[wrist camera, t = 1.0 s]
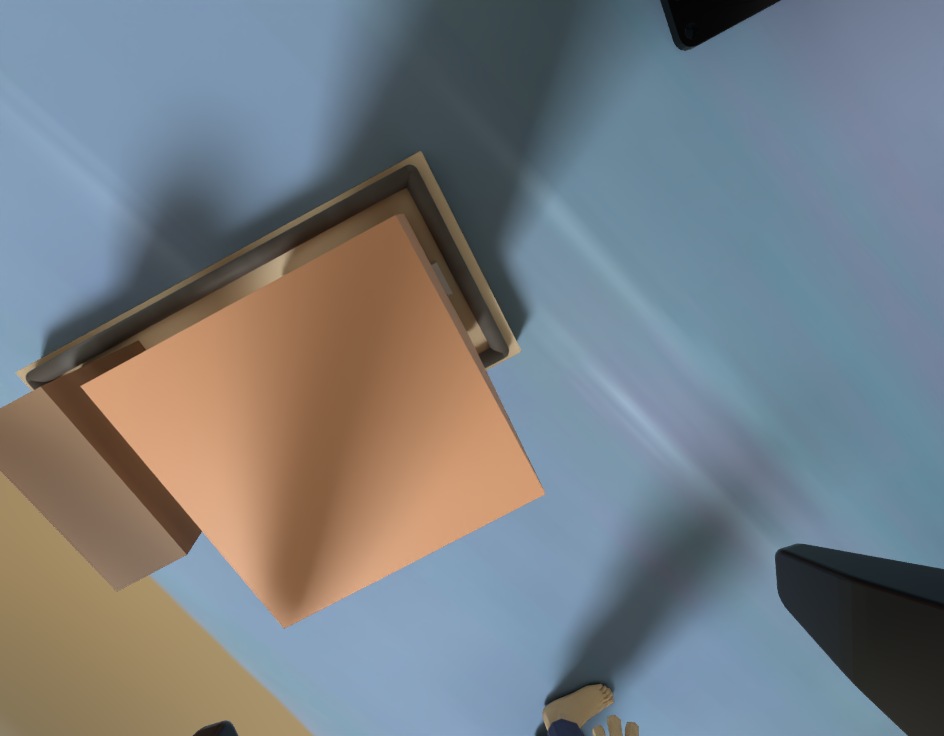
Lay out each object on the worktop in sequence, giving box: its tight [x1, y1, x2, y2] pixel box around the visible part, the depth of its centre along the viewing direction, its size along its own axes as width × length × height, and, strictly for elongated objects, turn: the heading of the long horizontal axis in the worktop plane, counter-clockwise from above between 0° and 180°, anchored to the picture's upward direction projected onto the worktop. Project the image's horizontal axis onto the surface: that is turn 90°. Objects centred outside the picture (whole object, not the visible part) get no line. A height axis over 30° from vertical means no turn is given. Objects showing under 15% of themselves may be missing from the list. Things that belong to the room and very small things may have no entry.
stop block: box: [0, 340, 202, 591], centre depth 16 cm, size 2×6×5 cm, turn 27°
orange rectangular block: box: [80, 213, 546, 629], centre depth 13 cm, size 5×5×11 cm
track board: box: [16, 151, 522, 391], centre depth 19 cm, size 16×8×2 cm, turn 117°
